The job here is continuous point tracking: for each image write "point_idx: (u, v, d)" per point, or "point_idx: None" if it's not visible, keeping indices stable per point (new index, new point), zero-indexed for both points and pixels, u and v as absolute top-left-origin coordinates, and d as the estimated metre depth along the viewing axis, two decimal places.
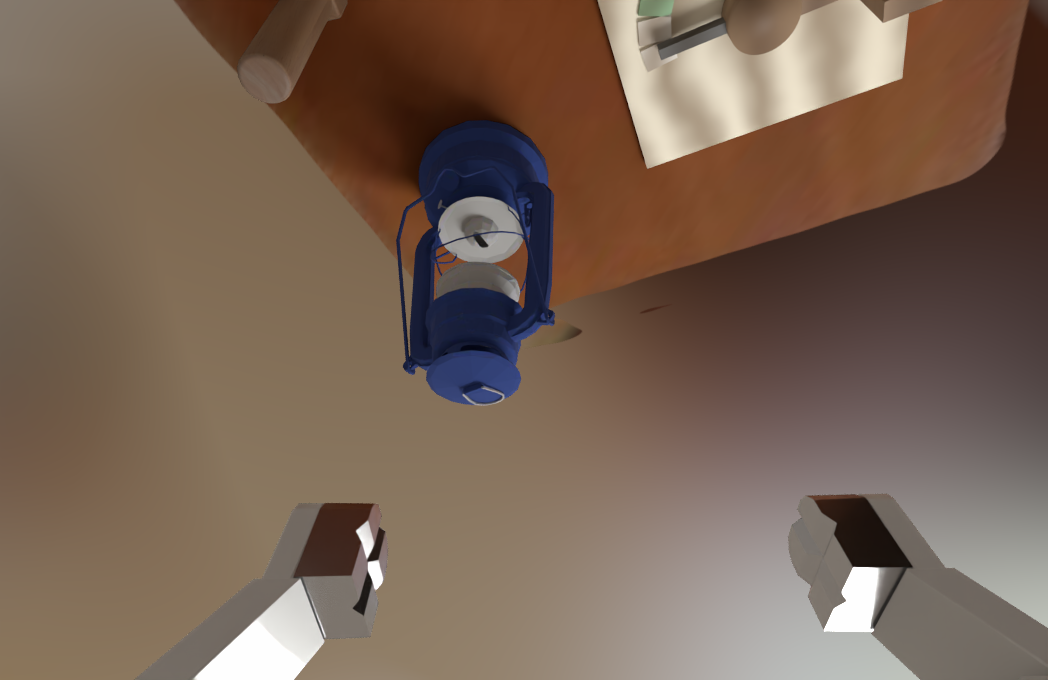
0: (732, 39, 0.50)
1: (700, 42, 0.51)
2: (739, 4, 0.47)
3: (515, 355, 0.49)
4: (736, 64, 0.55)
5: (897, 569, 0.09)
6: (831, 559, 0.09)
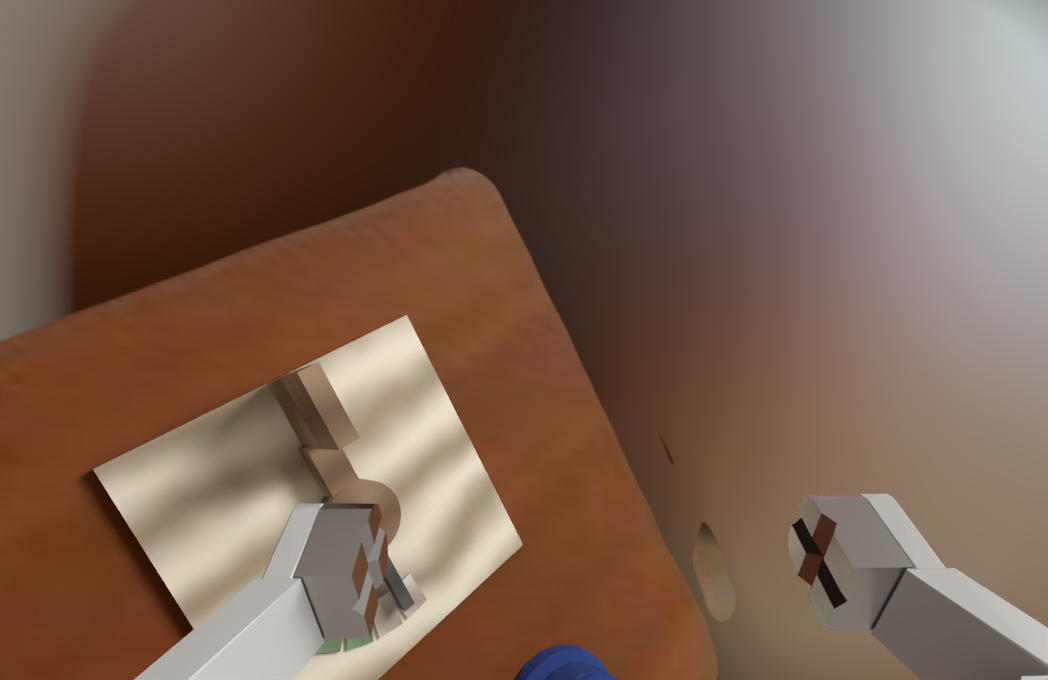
0: None
1: (393, 568, 0.46)
2: None
3: None
4: (410, 501, 0.50)
5: (897, 569, 0.09)
6: (831, 559, 0.09)
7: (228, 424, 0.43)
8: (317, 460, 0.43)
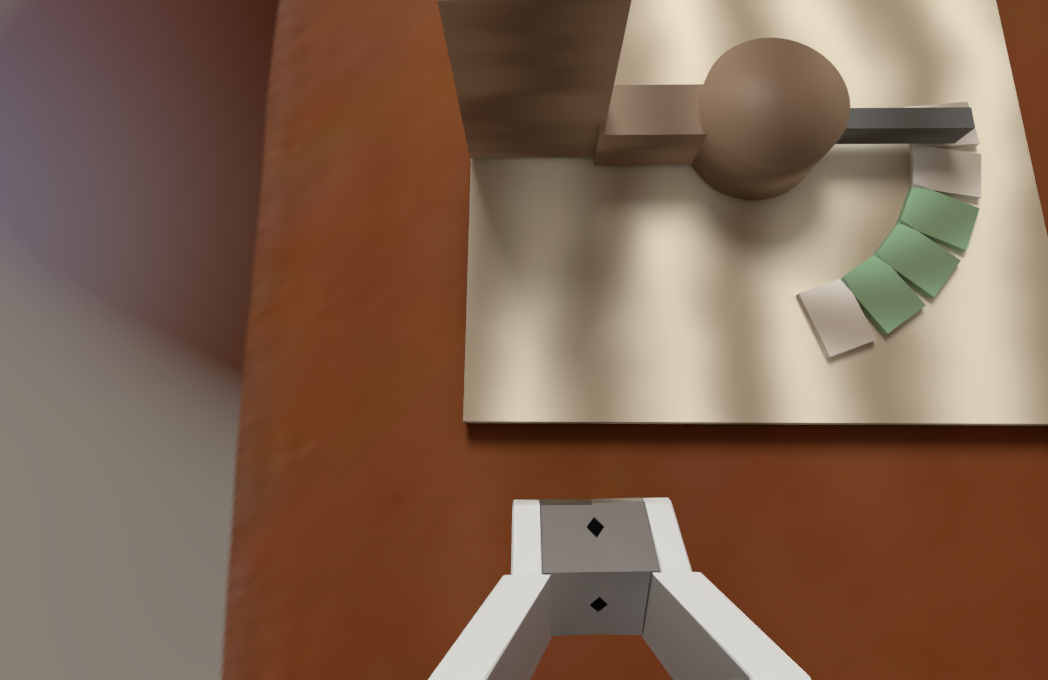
0: (843, 87, 0.23)
1: (886, 111, 0.24)
2: (829, 146, 0.22)
3: None
4: None
5: (646, 573, 0.09)
6: None
7: (501, 236, 0.25)
8: (628, 127, 0.23)
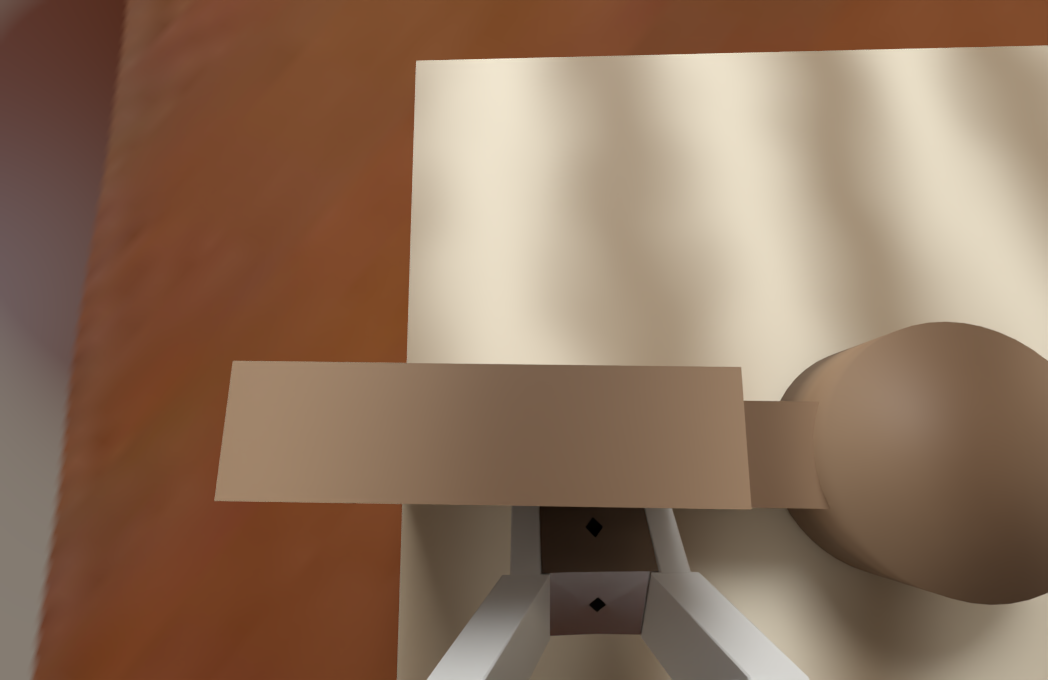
0: None
1: None
2: None
3: None
4: (923, 286, 0.16)
5: (644, 573, 0.09)
6: None
7: None
8: None
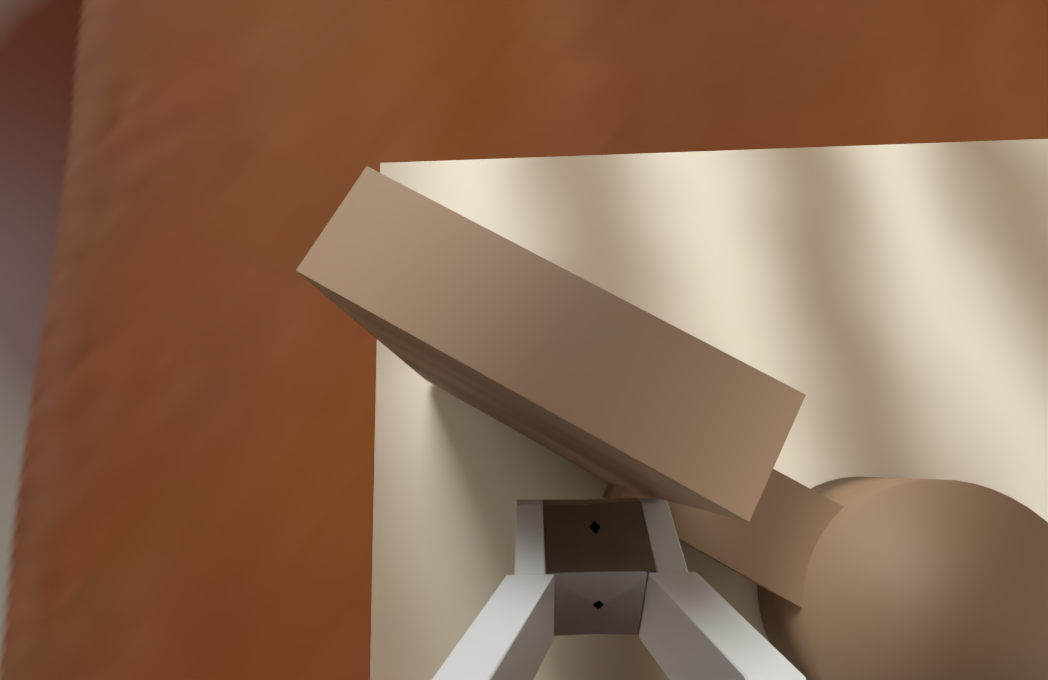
0: None
1: None
2: None
3: None
4: (913, 403, 0.16)
5: (642, 573, 0.09)
6: None
7: None
8: (672, 517, 0.12)
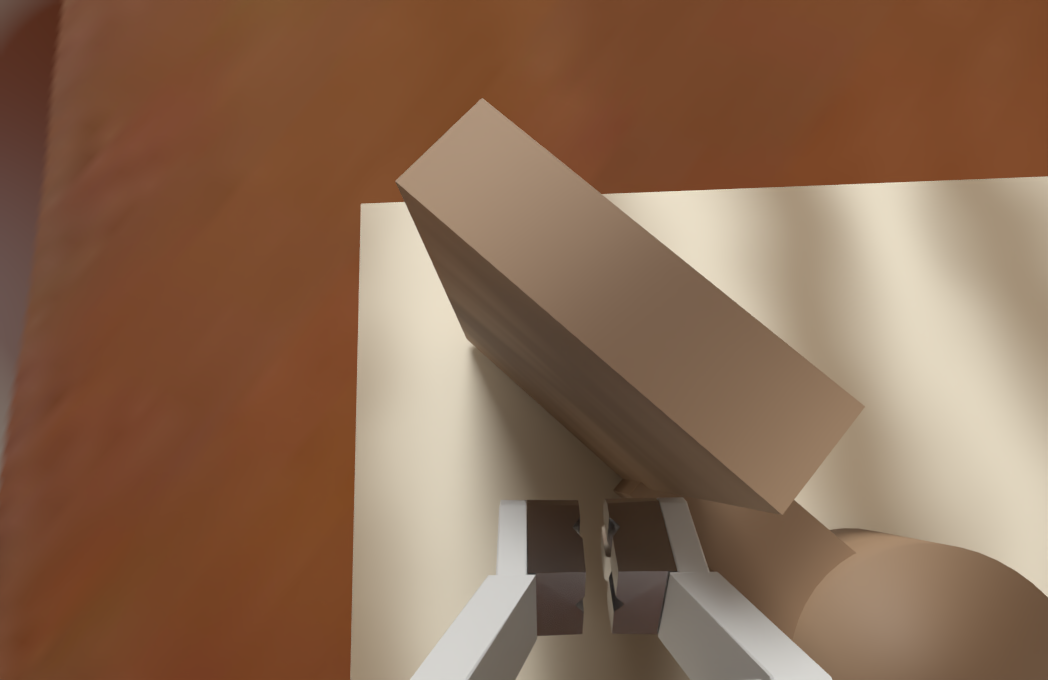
0: None
1: None
2: None
3: None
4: (903, 451, 0.15)
5: (663, 573, 0.09)
6: (612, 563, 0.10)
7: None
8: None
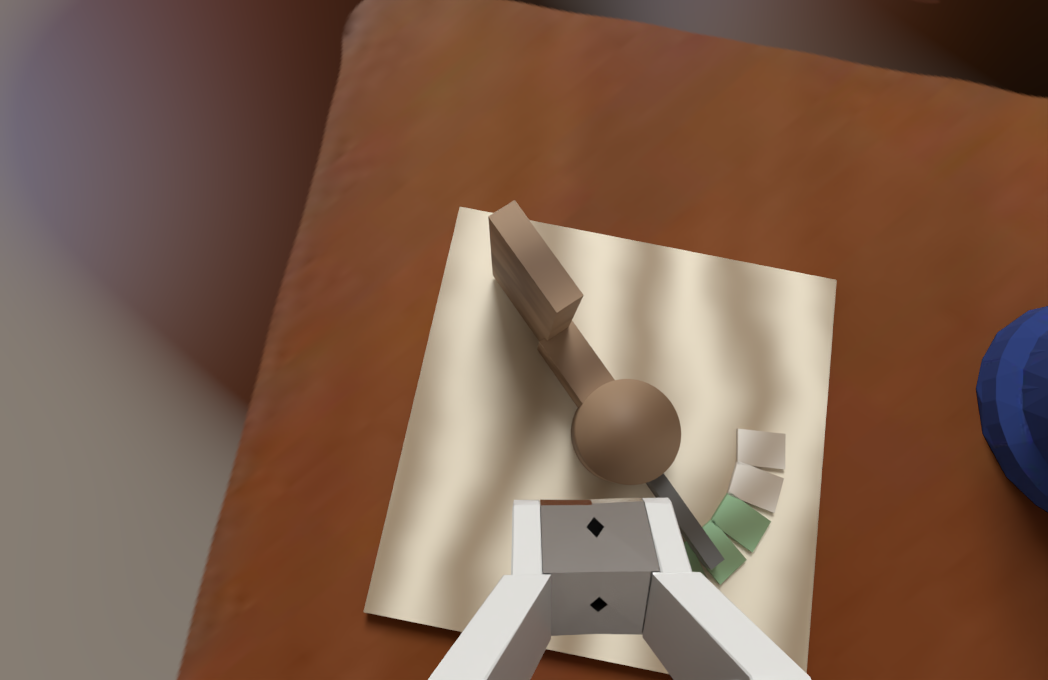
0: (666, 467, 0.31)
1: (683, 506, 0.32)
2: (618, 481, 0.31)
3: None
4: (662, 364, 0.36)
5: (646, 573, 0.09)
6: None
7: (421, 471, 0.34)
8: (555, 355, 0.33)
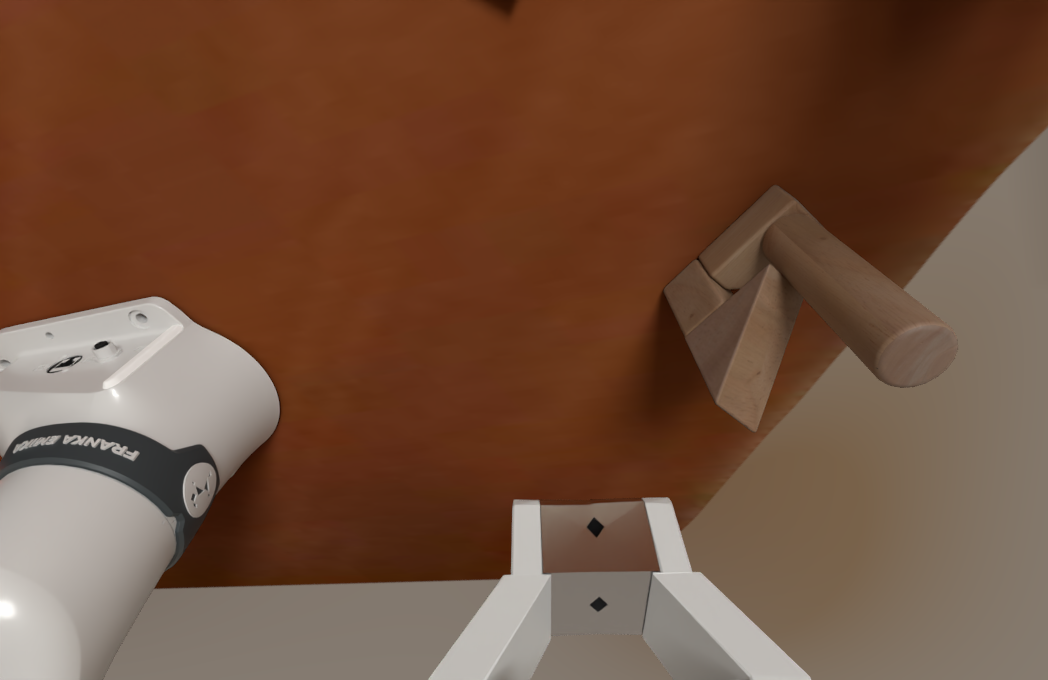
0: None
1: None
2: None
3: None
4: None
5: (646, 573, 0.09)
6: None
7: None
8: None
